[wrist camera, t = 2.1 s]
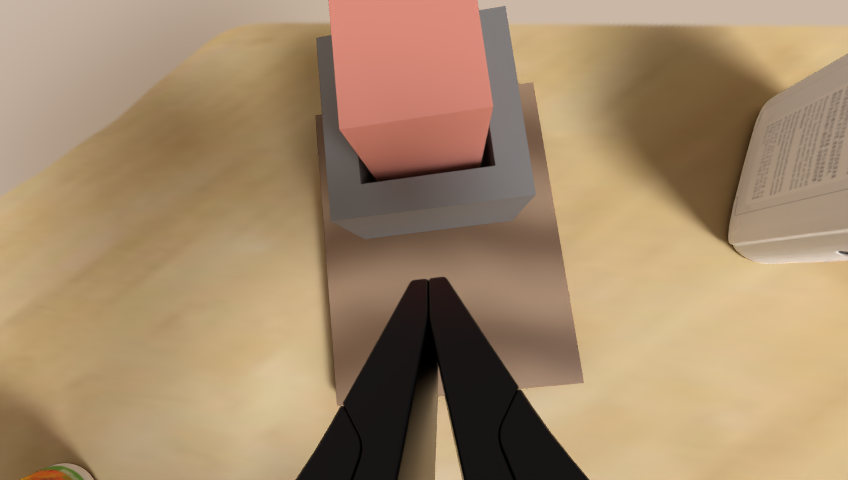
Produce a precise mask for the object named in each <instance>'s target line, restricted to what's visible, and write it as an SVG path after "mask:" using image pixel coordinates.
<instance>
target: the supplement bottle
mask: <svg viewBox="0 0 848 480" xmlns="http://www.w3.org/2000/svg"><path fill="white" fill-rule="evenodd" d="M20 480H94V479H93V477H92V476H91V475H90V474H89V473H88V472H87V471H86V470H85V469H83V468H82V467H80V466H77V465H74V464H70V463H61V464H55V465H52V466H49V467H47V468H45V469H42V470H40V471H37V472H35V473H33V474H31V475H29V476H26V477H24V478H22V479H20Z"/></svg>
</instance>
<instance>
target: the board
mask: <svg viewBox="0 0 848 480" xmlns="http://www.w3.org/2000/svg"><path fill="white" fill-rule="evenodd" d="M518 87H519V93H520V99H521V106H522V112H523V118H524V124H525V130H526V136H527V142H528V149H529V155H530V161H531V167H532V173H533V179H534V185H535V192H536V195H535V196H534V197H533V198H532V199H531V201H530V202H529V203H528V204H527V205H526V206H525V207H524V208H523V210H522V211H521V212H520V213H519V214H518V215H517V216H516V217H515V219H514V220H513V221H505V222H497V223H489V224H481V225H473V226H465V227H458V228H450V229H442V230H434V231H426V232H418V233H410V234H402V235H394V236H386V237H378V238H370V239H363V238H361V237H360V236H358V235H356V234H354V233H352V232H350V231H348V230H346V229H344V228H342V227H340V226H339V225H337V224H335V223H333V222H331V221H330V208H329V195H328V182H327V169H326V156H325V144H324V131H323V118H322V115H316V129H317V142H318V155H319V169H320V182H321V196H322V209H323V223H324V236H325V250H326V263H327V276H328V290H329V303H330V317H331V330H332V344H333V357H334V370H335V384H336V397H337V406H339V405H343V401H344V399H345V398H346V396H347V394H348V392H349V391H350V389H351V387H352V385H353V383H354V382H355V380H356V378H357V376H358V374H359V373H360V371H361V369H362V367H363V365H364V364H365V362H366V360H367V358H368V357H369V355H370V353H371V351H372V349H373V348H374V346H375V344H376V342H377V340H378V339H379V337H380V335H381V333H382V331H383V330H384V328H385V326H386V324H387V323H388V321H389V319H390V317H391V315H392V314H393V312H394V310H395V308H396V306H397V305H398V303H399V301H400V299H401V297H402V296H403V294H404V292H405V290H406V289H407V287H408V285H409V283H410V282H411V281H412V280H418V279H427V280H428V281H429V279H430V278H435V277H446V278H447V279H448V281H449V282H450V284H451V285H452V287H453V288H454V290H455V291H456V293H457V294H458V296H459V297H460V299H461V300H462V302H463V303H464V305H465V306H466V308H467V309H468V311H469V312H470V314H471V315H472V317H473V318H474V320H475V321H476V323H477V324H478V326H479V327H480V329H481V330H482V332H483V333H484V335H485V336H486V338H487V339H488V341H489V342H490V344H491V345H492V347H493V348H494V350H495V351H496V353H497V354H498V356H499V357H500V359H501V360H502V362H503V363H504V365H505V366H506V368H507V369H508V371H509V372H510V374H511V375H512V377H513V378H514V380H515V381H516V383H517V384H518V386H519V389H522V388H533V387H544V386H555V385H565V384H576V383H584V381H583V375H582V369H581V363H580V357H579V351H578V345H577V339H576V334H575V328H574V322H573V316H572V310H571V304H570V298H569V292H568V286H567V280H566V274H565V269H564V263H563V257H562V251H561V245H560V239H559V233H558V227H557V221H556V215H555V209H554V204H553V198H552V192H551V186H550V180H549V174H548V168H547V162H546V156H545V150H544V145H543V139H542V133H541V127H540V121H539V115H538V109H537V103H536V97H535V91H534V85H533V82H532V83H526V84H519V85H518ZM438 396H445V395H444V391H443V386H442V381H441V376H440V371H439V366H438Z"/></svg>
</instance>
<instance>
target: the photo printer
mask: <svg viewBox="0 0 848 480" xmlns="http://www.w3.org/2000/svg"><path fill="white" fill-rule="evenodd" d="M728 241H729V243H730V244H732V245H733V247H734V248H735V250H736V251H737V252H739V253H740V254H741V255H742V256H744V257H745V258H747V259H749V260H752V261H754V262H758V263H763V264H777V263H808V262H829V261H848V54H846V55H844V56H843V57H841V58H839V59H837V60H836V61H834V62H832V63H831V64H829V65H827V66H826V67H824V68H822V69H820V70H819V71H817V72H815V73H813V74H812V75H810V76H808V77H806V78H805V79H803V80H801V81H800V82H798V83H796V84H794V85H793V86H791V87H789V88H787V89H785V90H784V91H782V92H780V93H779V94H777V95H775V96H774V97H772V98H771V99H770V100H768V101H767V102H766V103H765V105H764V106H763V107H762V109H761V111H760V113H759V116H758V118H757V120H756V123H755V126H754V129H753V133H752V137H751V140H750V143H749V147H748V151H747V154H746V158H745V162H744V165H743V169H742V173H741V177H740V181H739V185H738V189H737V193H736V197H735V200H734V204H733V209H732V214H731V219H730V224H729V233H728Z"/></svg>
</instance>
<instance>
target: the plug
mask: <svg viewBox="0 0 848 480" xmlns="http://www.w3.org/2000/svg"><path fill="white" fill-rule="evenodd" d="M329 11H330V23H331V35H332V47H333V59H334V71H335V83H336V95H337V107H338V119H339V130H340V131H341V132H342V134H343V135H344V136H345V138H346V139H347V141H348V142H349V143H350V145H351V146H352V147H353V149H354V150H355V151H356V153H357V154H358V156H359V157H360V158H361V160H362V161H363V162H364V164H365V165H366V166H367V168H368V169H369V171H370V172H371V173H372V175H373V176H374V177H375V179H376V180H377V181H378V182H381V181H388V180H395V179H402V178H410V177H417V176H424V175H431V174H439V173H446V172H453V171H461V170H468V169H475V168H480V166H481V161H482V156H483V152H484V147H485V143H486V138H487V133H488V129H489V124H490V120H491V115H492V110H493V101H492V95H491V88H490V81H489V75H488V68H487V61H486V55H485V48H484V41H483V35H482V28H481V21H480V15H479V8H478V2H477V0H329Z"/></svg>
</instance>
